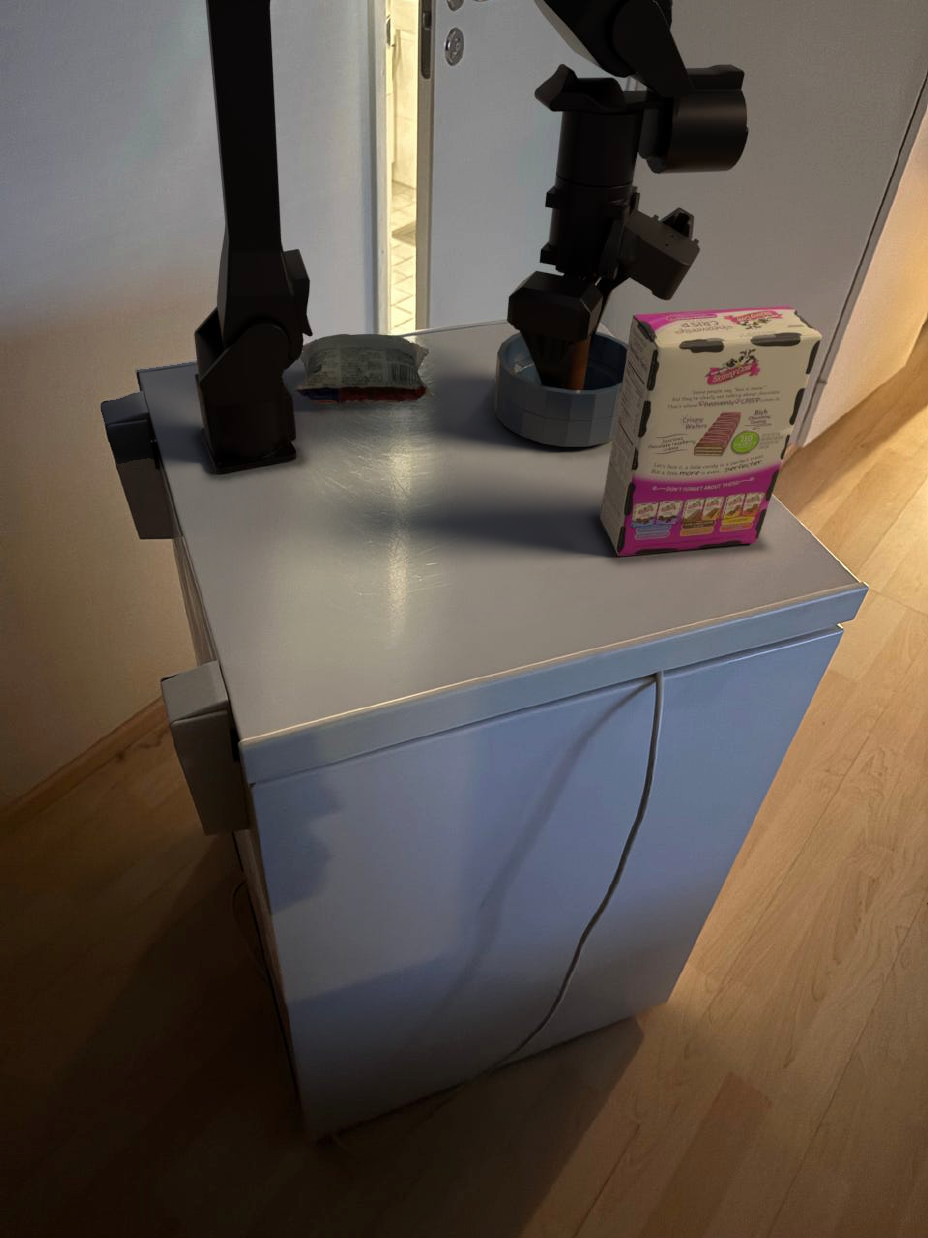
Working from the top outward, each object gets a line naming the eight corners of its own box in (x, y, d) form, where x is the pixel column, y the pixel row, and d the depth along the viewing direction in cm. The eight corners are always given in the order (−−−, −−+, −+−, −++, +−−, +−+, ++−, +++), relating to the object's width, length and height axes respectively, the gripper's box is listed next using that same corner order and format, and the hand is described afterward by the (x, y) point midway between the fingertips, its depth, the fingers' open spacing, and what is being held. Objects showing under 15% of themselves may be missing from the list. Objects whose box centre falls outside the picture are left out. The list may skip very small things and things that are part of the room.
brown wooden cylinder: (557, 420, 77) (570, 320, 71) (542, 404, 79) (554, 306, 73) (585, 414, 78) (600, 315, 72) (570, 399, 80) (583, 301, 74)
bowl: (531, 464, 73) (538, 404, 69) (471, 394, 81) (474, 337, 77) (657, 438, 77) (670, 379, 73) (588, 373, 85) (596, 318, 81)
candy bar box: (730, 506, 70) (792, 302, 59) (757, 545, 66) (829, 336, 55) (594, 517, 68) (631, 309, 57) (614, 558, 64) (658, 344, 53)
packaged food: (302, 367, 83) (297, 317, 80) (429, 368, 84) (430, 318, 81) (296, 416, 77) (291, 364, 74) (433, 416, 78) (435, 365, 75)
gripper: (677, 234, 57) (635, 445, 68) (725, 158, 70) (683, 345, 81) (513, 205, 60) (497, 413, 70) (588, 137, 73) (565, 321, 83)
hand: (568, 370), depth 76 cm, fingers open, 9 cm apart
